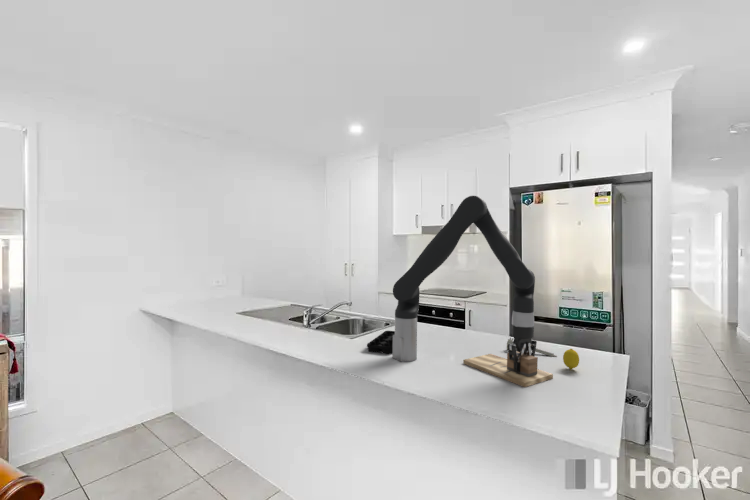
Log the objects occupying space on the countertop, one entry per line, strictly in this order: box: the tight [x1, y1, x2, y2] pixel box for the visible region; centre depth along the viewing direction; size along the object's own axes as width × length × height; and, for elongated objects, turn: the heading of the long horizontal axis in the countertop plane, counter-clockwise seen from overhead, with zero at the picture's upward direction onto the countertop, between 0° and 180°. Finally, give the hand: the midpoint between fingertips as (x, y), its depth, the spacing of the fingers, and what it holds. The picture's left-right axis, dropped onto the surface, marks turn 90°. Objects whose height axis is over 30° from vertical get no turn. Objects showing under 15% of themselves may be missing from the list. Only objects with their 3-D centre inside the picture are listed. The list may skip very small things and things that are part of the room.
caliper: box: [506, 336, 558, 358], centre depth 163 cm, size 20×1×6 cm, turn 65°
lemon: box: [562, 348, 580, 370], centre depth 142 cm, size 6×6×8 cm
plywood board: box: [462, 353, 554, 388], centre depth 140 cm, size 16×28×2 cm, turn 32°
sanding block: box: [506, 351, 539, 377], centre depth 134 cm, size 9×5×6 cm, turn 32°
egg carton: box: [366, 330, 395, 355], centre depth 173 cm, size 18×30×4 cm, turn 172°
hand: (521, 370), depth 134 cm, fingers closed on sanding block, 5 cm apart
